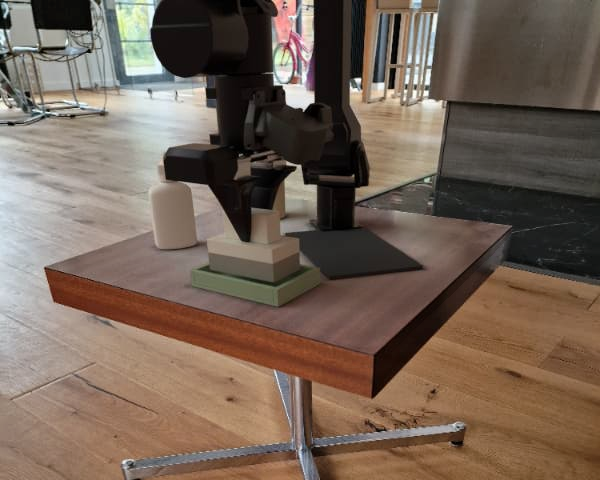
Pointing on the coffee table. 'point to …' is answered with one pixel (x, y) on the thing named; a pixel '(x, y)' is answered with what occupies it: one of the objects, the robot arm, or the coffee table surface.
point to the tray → (257, 284)
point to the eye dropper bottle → (172, 212)
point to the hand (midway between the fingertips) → (253, 238)
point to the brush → (255, 249)
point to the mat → (352, 253)
